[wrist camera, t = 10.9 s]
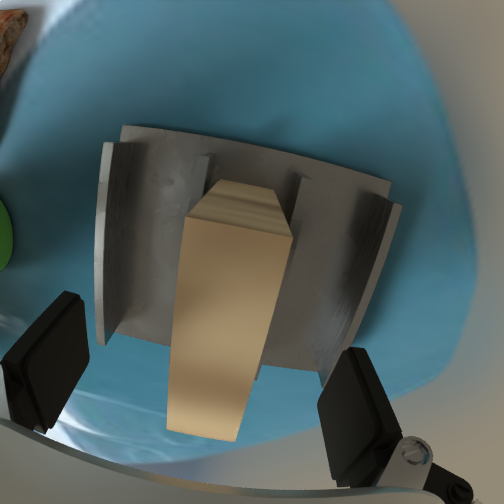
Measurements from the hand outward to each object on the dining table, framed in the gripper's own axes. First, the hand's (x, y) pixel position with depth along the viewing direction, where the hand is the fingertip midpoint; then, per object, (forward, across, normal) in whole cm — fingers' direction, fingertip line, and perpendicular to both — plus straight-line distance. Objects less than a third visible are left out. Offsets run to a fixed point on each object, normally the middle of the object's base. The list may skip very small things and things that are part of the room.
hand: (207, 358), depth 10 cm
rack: (+11, -1, +1) cm, 11 cm away
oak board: (+10, 0, +1) cm, 10 cm away
